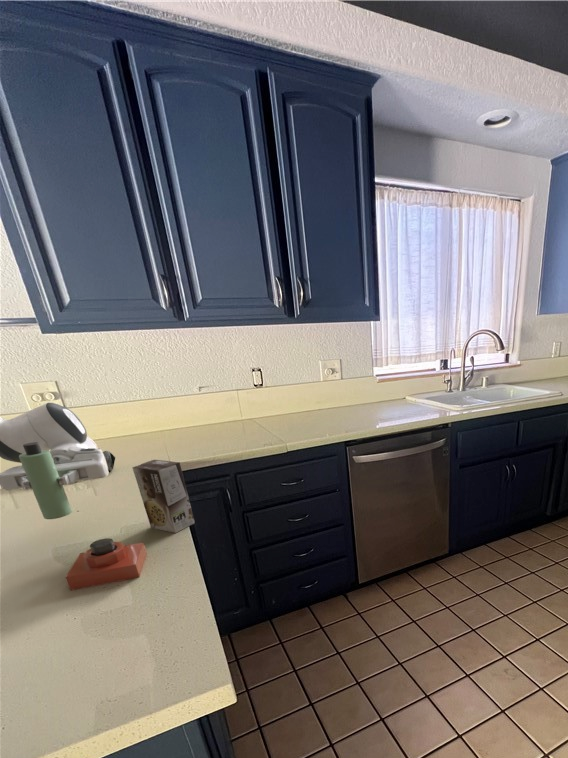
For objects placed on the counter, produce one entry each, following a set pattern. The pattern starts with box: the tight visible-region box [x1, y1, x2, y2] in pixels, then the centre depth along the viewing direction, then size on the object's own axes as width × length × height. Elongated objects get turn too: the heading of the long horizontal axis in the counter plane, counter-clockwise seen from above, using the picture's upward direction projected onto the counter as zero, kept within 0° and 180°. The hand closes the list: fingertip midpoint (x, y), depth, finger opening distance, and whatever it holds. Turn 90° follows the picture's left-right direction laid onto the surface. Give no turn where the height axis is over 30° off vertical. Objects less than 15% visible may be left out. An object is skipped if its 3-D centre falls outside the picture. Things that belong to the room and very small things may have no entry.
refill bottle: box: [19, 442, 73, 520], centre depth 91 cm, size 5×5×16 cm
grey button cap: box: [89, 537, 116, 556], centre depth 86 cm, size 4×4×2 cm
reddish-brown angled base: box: [65, 541, 148, 591], centre depth 87 cm, size 12×10×5 cm
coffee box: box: [132, 459, 196, 534], centre depth 104 cm, size 9×6×16 cm
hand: (44, 483), depth 90 cm, fingers closed on refill bottle, 5 cm apart
